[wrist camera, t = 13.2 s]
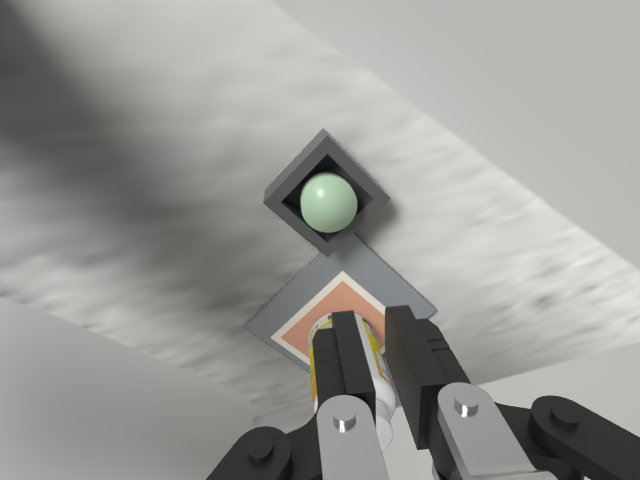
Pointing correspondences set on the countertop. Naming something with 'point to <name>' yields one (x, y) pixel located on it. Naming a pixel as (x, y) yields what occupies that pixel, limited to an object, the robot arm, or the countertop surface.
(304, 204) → the button
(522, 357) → the countertop surface
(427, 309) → the picture board
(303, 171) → the button housing
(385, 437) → the supplement bottle
